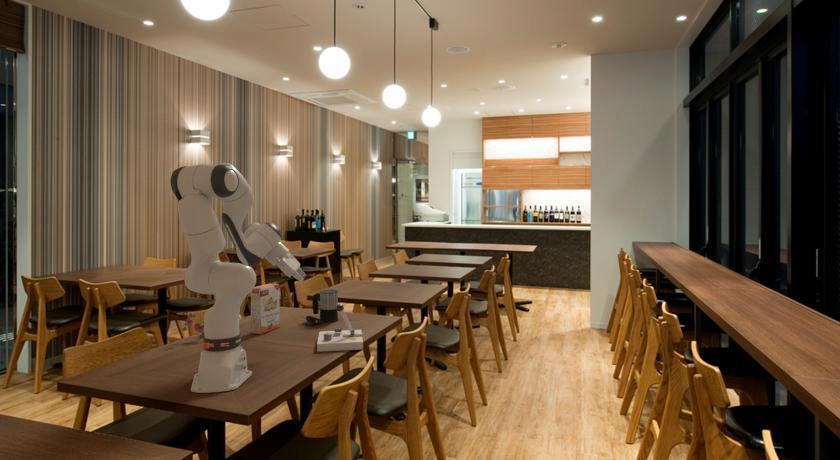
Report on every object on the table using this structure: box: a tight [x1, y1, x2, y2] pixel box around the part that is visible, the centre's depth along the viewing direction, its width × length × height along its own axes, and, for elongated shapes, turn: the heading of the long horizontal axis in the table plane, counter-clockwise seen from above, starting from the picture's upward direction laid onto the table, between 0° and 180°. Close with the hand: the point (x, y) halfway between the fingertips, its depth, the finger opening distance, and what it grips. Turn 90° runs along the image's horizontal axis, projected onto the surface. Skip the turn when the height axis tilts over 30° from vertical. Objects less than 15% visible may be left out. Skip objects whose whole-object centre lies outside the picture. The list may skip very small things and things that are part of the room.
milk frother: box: [305, 289, 339, 325], centre depth 255 cm, size 14×16×15 cm
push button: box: [324, 333, 332, 340], centre depth 211 cm, size 3×3×2 cm
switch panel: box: [316, 329, 364, 352], centre depth 216 cm, size 20×18×3 cm
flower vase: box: [181, 312, 243, 338], centre depth 236 cm, size 12×12×35 cm
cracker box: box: [250, 283, 281, 335], centre depth 239 cm, size 14×6×21 cm, turn 159°
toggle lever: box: [336, 303, 355, 335], centre depth 216 cm, size 3×3×14 cm
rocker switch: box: [333, 328, 342, 332], centre depth 220 cm, size 4×3×1 cm, turn 8°
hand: (303, 278), depth 213 cm, fingers open, 8 cm apart
